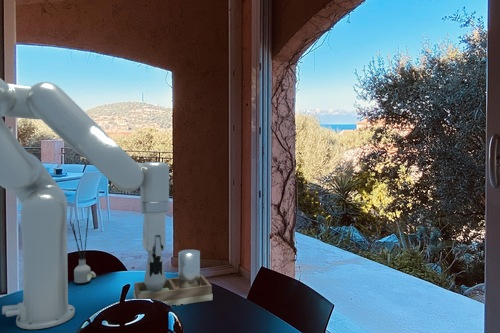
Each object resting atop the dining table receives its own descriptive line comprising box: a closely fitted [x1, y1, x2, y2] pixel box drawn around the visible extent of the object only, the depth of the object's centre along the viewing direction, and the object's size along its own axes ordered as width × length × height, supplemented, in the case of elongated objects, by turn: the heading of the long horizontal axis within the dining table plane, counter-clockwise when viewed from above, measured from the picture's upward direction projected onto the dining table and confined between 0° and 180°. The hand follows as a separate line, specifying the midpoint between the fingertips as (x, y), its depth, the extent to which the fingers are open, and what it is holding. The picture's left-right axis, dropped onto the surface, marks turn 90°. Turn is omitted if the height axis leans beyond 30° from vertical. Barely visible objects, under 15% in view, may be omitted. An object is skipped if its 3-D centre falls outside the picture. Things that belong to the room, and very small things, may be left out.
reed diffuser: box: [69, 218, 97, 284], centre depth 117 cm, size 10×7×20 cm
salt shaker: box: [143, 248, 167, 292], centre depth 102 cm, size 6×6×13 cm
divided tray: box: [132, 273, 214, 307], centre depth 104 cm, size 20×11×4 cm, turn 113°
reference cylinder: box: [177, 249, 201, 289], centre depth 106 cm, size 6×6×11 cm
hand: (154, 273), depth 102 cm, fingers closed on salt shaker, 3 cm apart
